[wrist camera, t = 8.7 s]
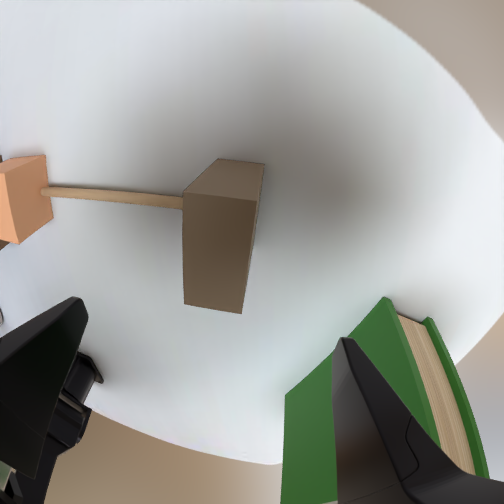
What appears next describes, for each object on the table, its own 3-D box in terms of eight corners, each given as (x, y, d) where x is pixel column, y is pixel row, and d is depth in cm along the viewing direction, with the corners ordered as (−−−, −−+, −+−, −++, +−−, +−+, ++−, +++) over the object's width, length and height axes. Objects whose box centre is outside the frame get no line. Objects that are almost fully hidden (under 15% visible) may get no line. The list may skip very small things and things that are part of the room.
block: (253, 246, 20) (241, 313, 14) (19, 213, 20) (-26, 246, 14) (264, 164, 17) (257, 201, 11) (10, 158, 17) (-41, 183, 11)
